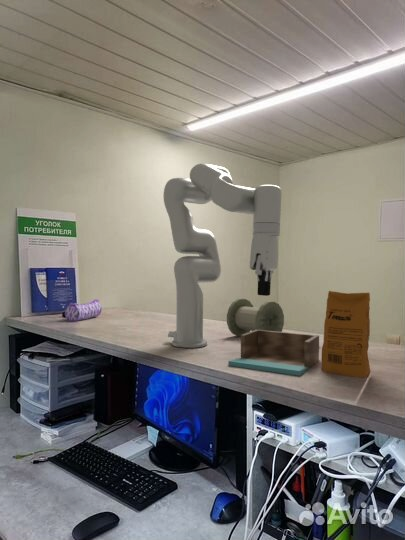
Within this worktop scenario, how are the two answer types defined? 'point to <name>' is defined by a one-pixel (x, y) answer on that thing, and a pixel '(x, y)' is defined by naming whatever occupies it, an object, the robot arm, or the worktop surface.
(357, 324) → the coffee package
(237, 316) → the spool
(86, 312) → the pencil case
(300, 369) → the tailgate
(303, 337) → the crate
